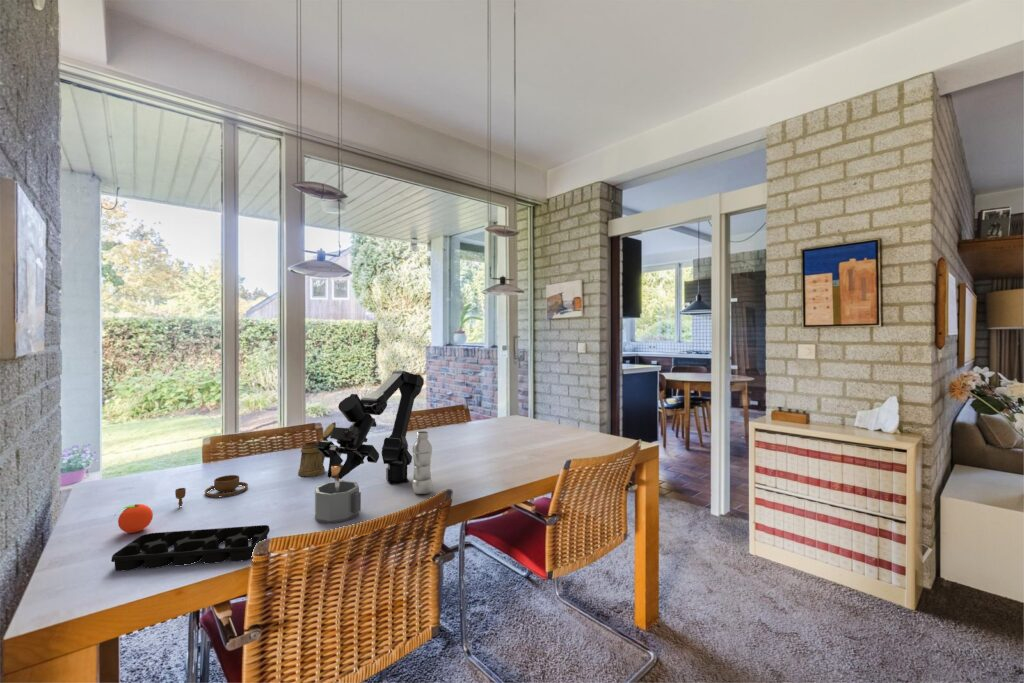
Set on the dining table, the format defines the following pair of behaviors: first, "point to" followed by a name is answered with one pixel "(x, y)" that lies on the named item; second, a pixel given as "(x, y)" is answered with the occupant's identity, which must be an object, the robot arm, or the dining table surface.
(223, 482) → the place setting
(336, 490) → the plunger
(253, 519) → the dining table surface
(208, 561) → the egg carton
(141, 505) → the clementine
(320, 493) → the press jug
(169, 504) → the dining table surface
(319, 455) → the wooden mug
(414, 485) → the plastic bottle
